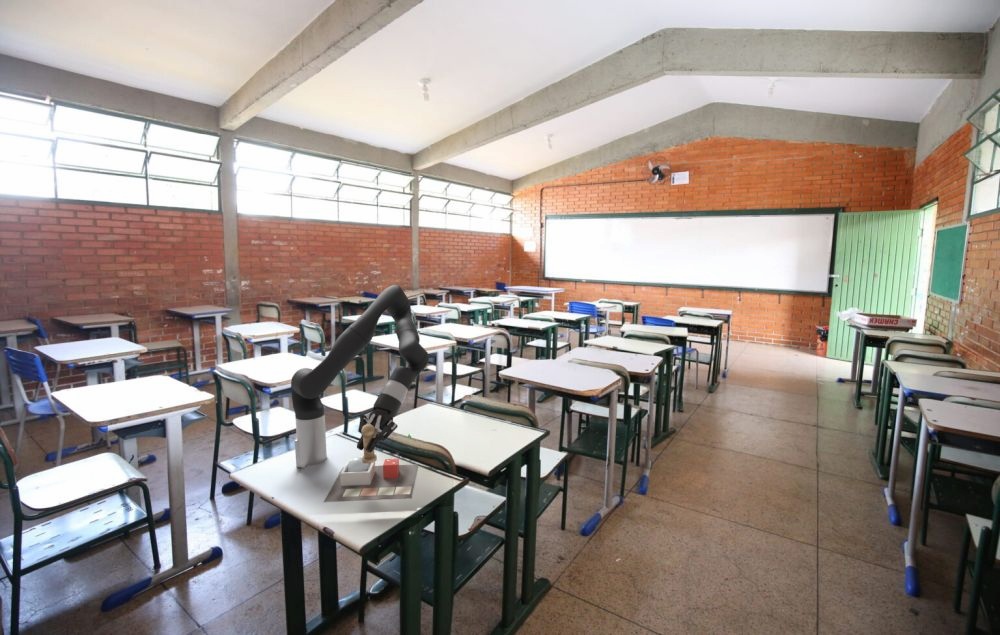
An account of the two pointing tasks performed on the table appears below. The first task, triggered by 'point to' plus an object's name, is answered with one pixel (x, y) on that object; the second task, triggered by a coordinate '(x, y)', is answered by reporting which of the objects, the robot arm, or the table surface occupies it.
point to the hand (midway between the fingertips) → (363, 449)
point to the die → (391, 468)
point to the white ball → (357, 465)
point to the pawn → (367, 435)
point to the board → (377, 486)
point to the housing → (357, 476)
